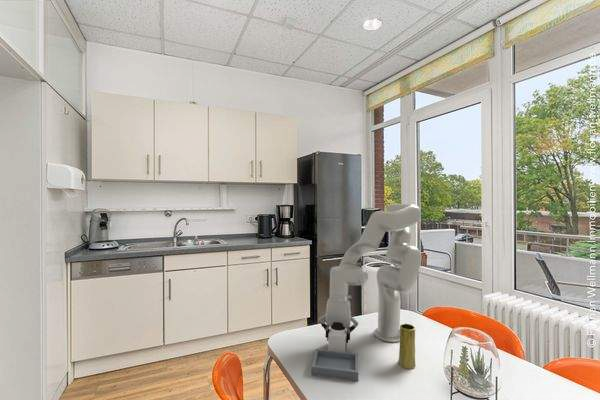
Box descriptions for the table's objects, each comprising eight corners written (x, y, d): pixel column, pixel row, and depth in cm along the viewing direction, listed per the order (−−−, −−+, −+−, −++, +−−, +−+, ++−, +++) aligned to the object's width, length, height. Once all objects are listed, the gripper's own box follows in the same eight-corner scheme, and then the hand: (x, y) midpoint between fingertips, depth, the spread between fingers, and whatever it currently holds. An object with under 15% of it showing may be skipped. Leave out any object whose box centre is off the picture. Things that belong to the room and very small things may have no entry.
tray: (357, 361, 110) (357, 353, 109) (358, 381, 98) (358, 372, 98) (315, 356, 112) (316, 348, 112) (311, 375, 101) (311, 366, 101)
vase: (407, 371, 104) (408, 331, 104) (394, 362, 110) (395, 324, 109) (419, 366, 107) (420, 328, 107) (406, 358, 112) (406, 321, 112)
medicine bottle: (346, 354, 115) (346, 323, 114) (328, 351, 116) (328, 322, 116) (346, 345, 122) (347, 316, 121) (329, 343, 123) (330, 315, 123)
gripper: (360, 296, 121) (359, 338, 121) (318, 292, 124) (317, 334, 124) (360, 302, 113) (359, 347, 114) (316, 298, 116) (315, 342, 117)
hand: (337, 340), depth 119 cm, fingers closed on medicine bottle, 7 cm apart
